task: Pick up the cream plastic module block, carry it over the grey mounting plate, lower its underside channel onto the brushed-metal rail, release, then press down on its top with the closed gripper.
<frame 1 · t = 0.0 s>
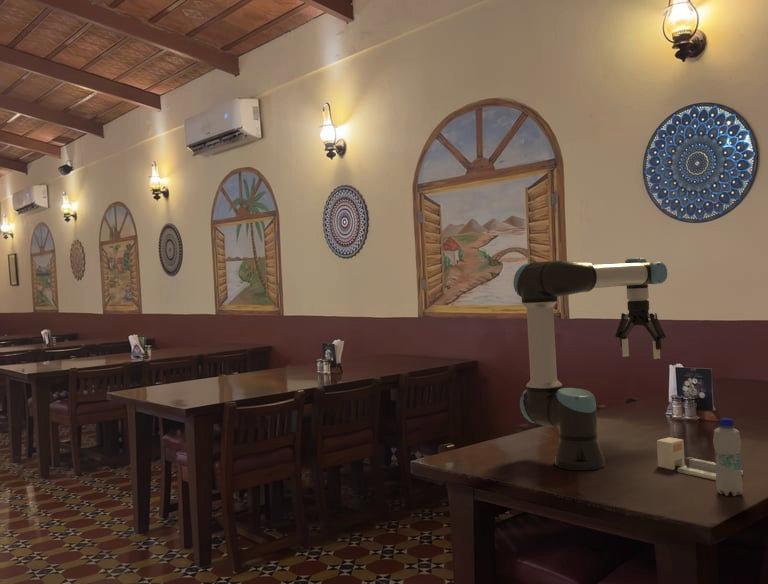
hand: (640, 357, 256), 28 cm above the table, fingers open, 13 cm apart
bottle: (729, 494, 183), on the table
module: (671, 466, 211), on the table
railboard: (709, 473, 202), on the table
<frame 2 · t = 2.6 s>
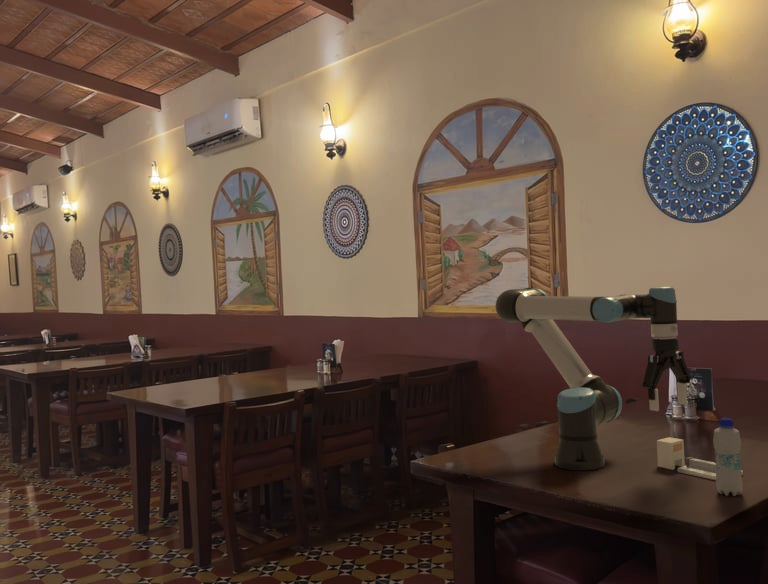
hand: (668, 407, 211), 18 cm above the table, fingers open, 13 cm apart
nothing on the table moved.
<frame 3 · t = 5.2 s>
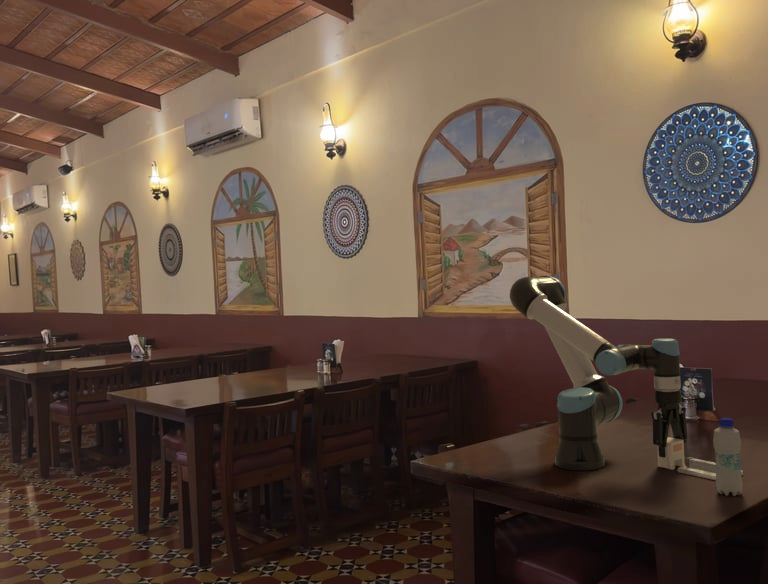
hand: (671, 465, 211), 0 cm above the table, fingers closed on module, 6 cm apart
module: (671, 466, 211), on the table, touching gripper
everything else where it was.
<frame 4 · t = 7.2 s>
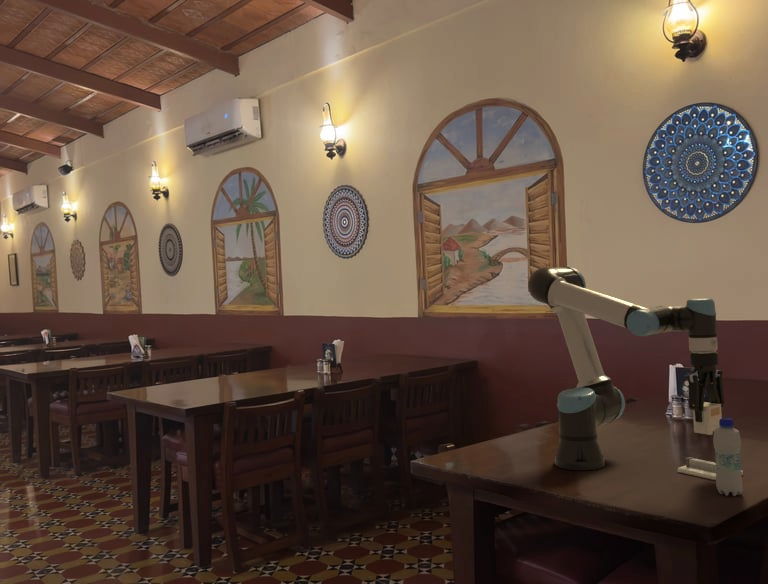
hand: (708, 431, 201), 12 cm above the table, fingers closed on module, 6 cm apart
module: (708, 432, 201), point 12 cm above the table, touching gripper
everything else where it was.
when the fingers open (2 cm above the table, at t = 8.9 s): module stays where it is, resting on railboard.
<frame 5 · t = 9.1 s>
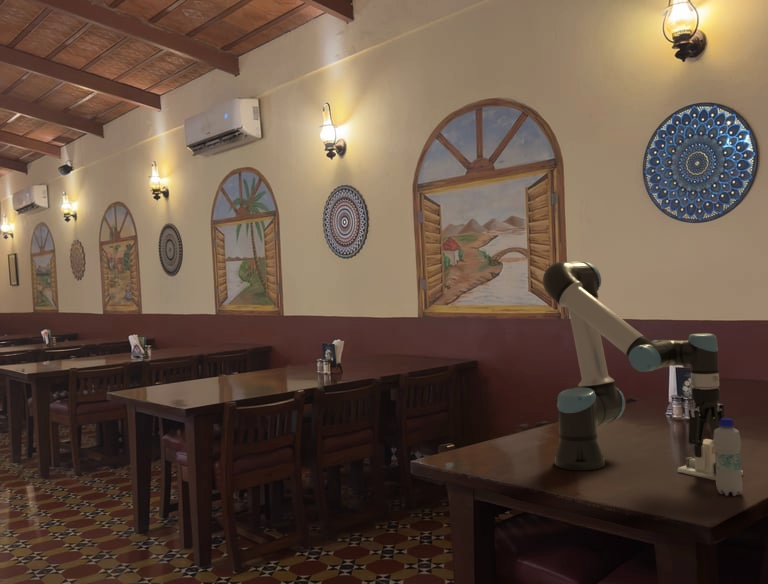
hand: (709, 465, 202), 2 cm above the table, fingers open, 8 cm apart
module: (709, 469, 202), point 1 cm above the table, touching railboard
everything else where it was.
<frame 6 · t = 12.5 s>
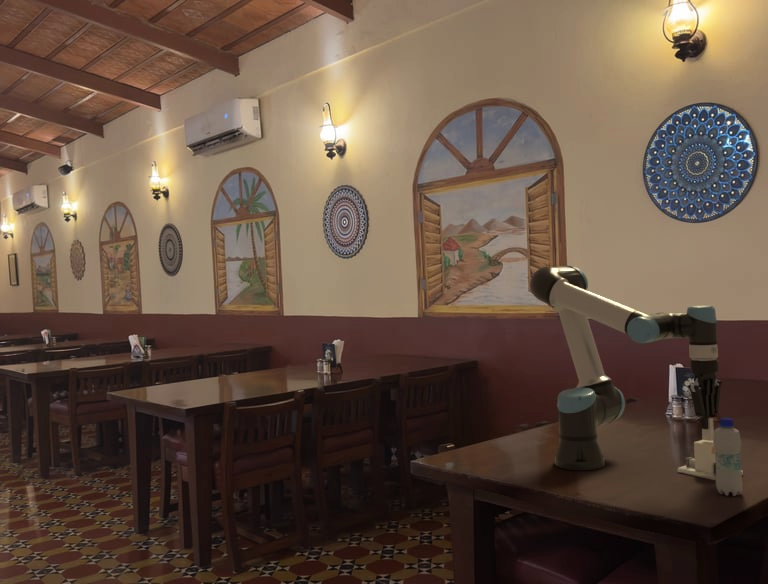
hand: (708, 439, 201), 10 cm above the table, fingers closed
nothing on the table moved.
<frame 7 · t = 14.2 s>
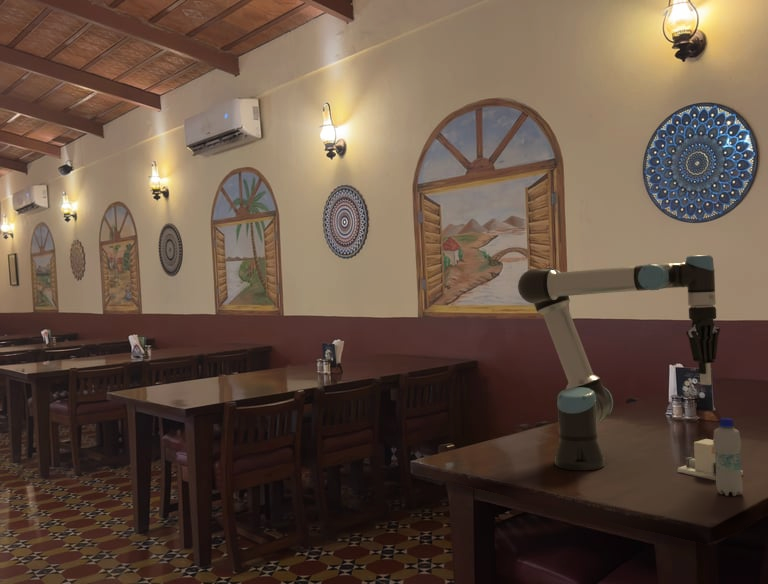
hand: (705, 384, 209), 25 cm above the table, fingers closed
nothing on the table moved.
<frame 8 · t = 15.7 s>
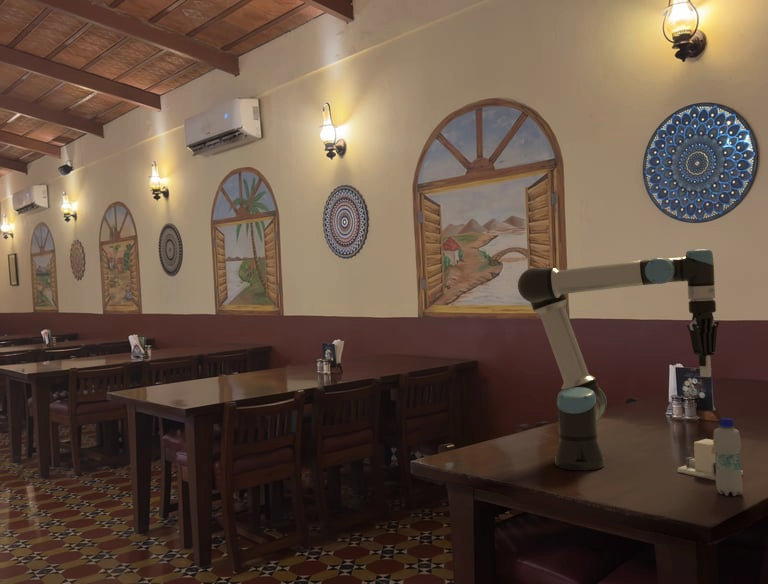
hand: (705, 376, 213), 26 cm above the table, fingers closed
nothing on the table moved.
at the end: module inside the target area on the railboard (0.1 cm from its centre), point 1.2 cm above the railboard's base; module tilted 0°; the gripper is holding nothing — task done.
